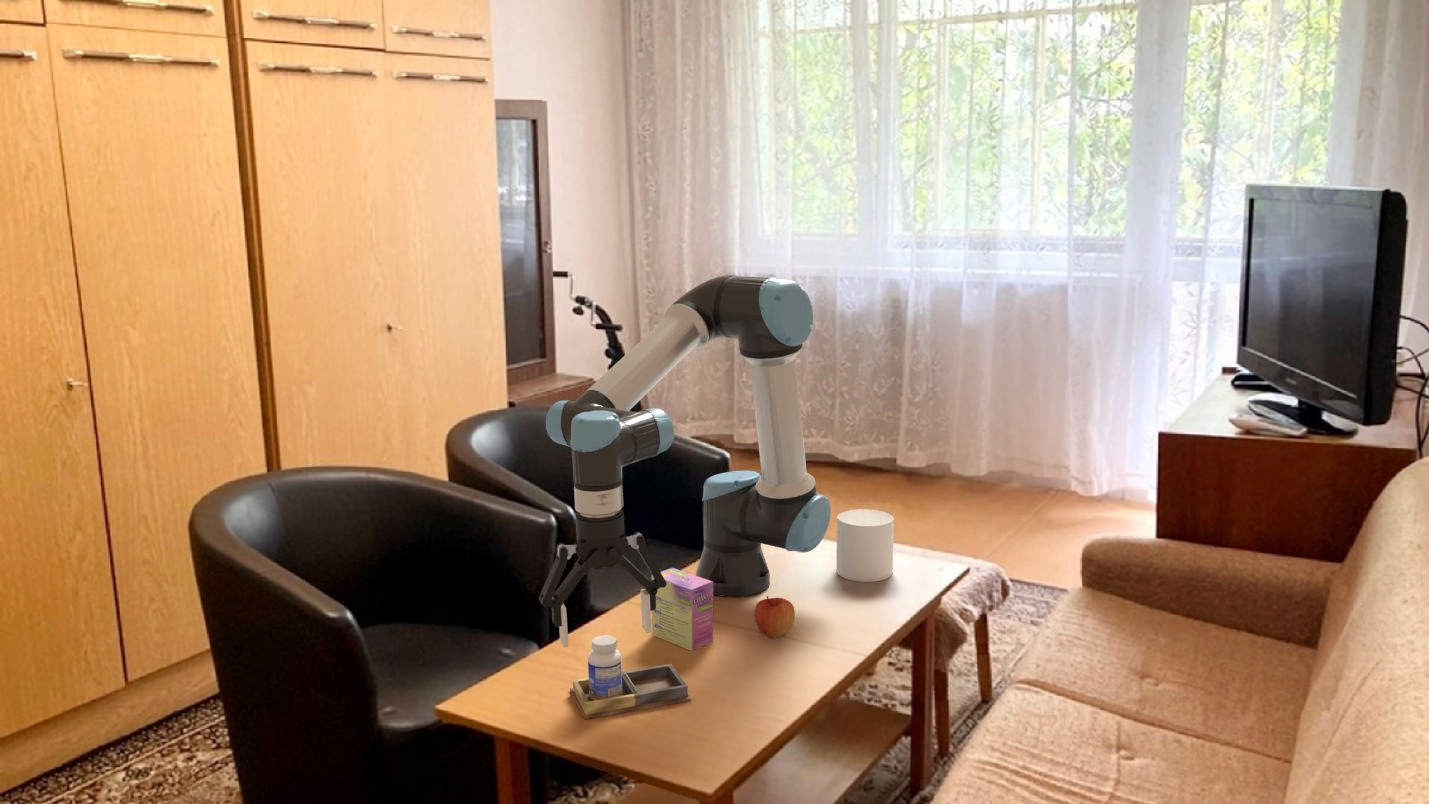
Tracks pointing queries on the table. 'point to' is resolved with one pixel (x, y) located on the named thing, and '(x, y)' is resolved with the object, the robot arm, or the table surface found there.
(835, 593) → the table surface
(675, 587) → the box
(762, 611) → the apple
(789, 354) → the robot arm
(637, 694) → the two-compartment tray
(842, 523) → the cup
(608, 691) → the pill bottle
